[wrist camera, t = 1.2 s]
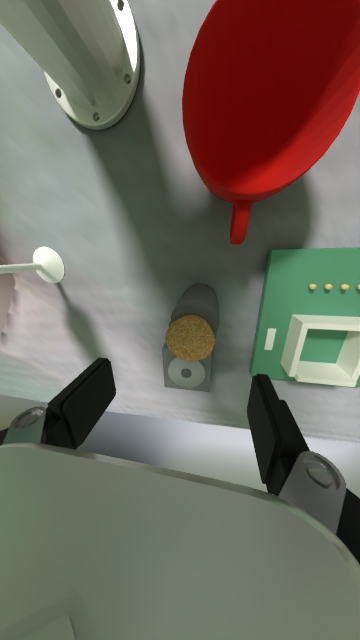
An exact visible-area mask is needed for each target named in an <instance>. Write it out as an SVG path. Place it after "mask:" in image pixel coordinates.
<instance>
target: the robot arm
mask: <svg viewBox="0 0 360 640" xmlns="http://www.w3.org/2000/svg"><path fill="white" fill-rule="evenodd" d="M0 23H1V24H2V25H3V26H4V27H5V29H6V30H7V31H8V32H9V33H10V34H11V35H12V36H13V37H14V38H15V39H16V41H17V42H18V43H19V44H20V45H21V46H22V47H23V48H24V49H25V50H26V51H27V52H28V54H29V55H30V56H31V57H32V58H33V59H34V60H35V61H36V62H37V63H38V64H39V65H40V67H41V68H42V69H43V70H44V73H45V76H46V80H47V82H48V85H49V87H50V90H51V92H52V94H53V95H54V97H55V99H56V101H57V102H58V104H59V105H60V106H61V108H62V109H63V110H64V111H65V112H66V113H67V114H68V115H69V116H70V117H71V118H72V119H73V120H74V121H75V122H77V123H78V124H79V125H81V126H83V127H86V128H88V129H93V130H100V129H105V128H108V127H110V126H112V125H113V124H115V123H116V122H118V121H119V120H120V119H121V118H122V116H123V115H124V114H125V113H126V111H127V109H128V108H129V106H130V104H131V102H132V100H133V97H134V95H135V92H136V88H137V84H138V80H139V71H140V46H139V38H138V32H137V28H136V24H135V21H134V17H133V15H132V12H131V9H130V6H129V3H128V1H127V0H0ZM115 395H116V388H115V383H114V377H113V372H112V367H111V362H110V361H109V360H108V359H107V358H98V359H97V360H95V361H94V362H93V363H92V364H91V365H90V366H89V367H88V368H87V369H86V370H84V371H83V372H82V373H81V374H80V375H79V376H78V377H77V378H76V379H74V380H73V381H72V382H71V383H70V384H69V385H68V386H67V387H66V388H64V389H63V390H62V391H61V392H60V393H59V394H58V395H57V396H56V397H54V398H53V399H52V400H51V401H50V402H49V403H48V406H49V407H48V408H46V409H45V408H44V407H34V408H31V409H29V410H26V411H24V412H22V413H21V414H20V415H18V416H17V417H16V418H15V419H14V420H13V421H12V423H11V424H10V427H9V428H7V429H4V430H2V431H0V640H360V499H359V498H358V497H357V496H356V495H355V494H353V493H352V492H351V491H349V490H348V489H347V488H346V483H345V480H344V477H343V476H342V474H341V473H340V471H339V470H338V469H337V468H336V466H335V465H333V463H332V462H330V461H329V460H328V459H327V458H325V457H323V456H322V455H320V454H318V453H315V452H311V451H310V450H309V448H308V446H307V444H306V442H305V440H304V438H303V436H302V434H301V432H300V430H299V428H298V426H297V424H296V421H295V419H294V417H293V415H292V413H291V411H290V409H289V407H288V405H287V403H286V402H285V401H284V400H279V398H278V396H277V394H276V391H275V389H274V387H273V385H272V383H271V380H270V378H269V376H268V375H267V374H258V373H257V374H256V376H253V379H252V384H251V390H250V396H249V402H248V407H247V415H248V420H249V425H250V430H251V434H252V439H253V443H254V448H255V452H256V458H257V462H258V467H259V471H260V476H261V480H262V483H263V484H266V486H267V490H268V493H267V492H264V491H260V490H257V489H253V488H250V487H247V486H243V485H238V484H234V483H230V482H226V481H221V480H217V479H213V478H208V477H204V476H199V475H194V474H190V473H185V472H180V471H175V470H171V469H166V468H162V467H157V466H152V465H147V464H143V463H138V462H133V461H128V460H123V459H119V458H113V457H109V456H104V455H99V454H94V453H89V452H84V451H79V450H76V449H77V447H78V446H80V445H81V444H82V443H83V442H84V440H85V439H86V438H87V436H88V435H89V433H90V432H91V430H92V429H93V427H94V426H95V424H96V423H97V421H98V420H99V419H100V417H101V416H102V414H103V413H104V411H105V410H106V409H107V407H108V406H109V404H110V403H111V401H112V400H113V398H114V397H115ZM272 494H274V495H272Z"/></svg>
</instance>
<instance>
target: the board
mask: <svg viewBox="0 0 360 640" xmlns="http://www.w3.org/2000/svg"><path fill="white" fill-rule="evenodd" d="M257 373H258V374H267V375H268V376H269V378H272V379H282V380H293V381H298V382H308V383H318V384H328V385H338V386H349V387H360V248H323V249H277V250H269V253H268V259H267V266H266V272H265V278H264V284H263V290H262V297H261V303H260V309H259V315H258V322H257V328H256V334H255V340H254V347H253V353H252V359H251V365H250V374H251V376H252V377H253V376H256V374H257Z"/></svg>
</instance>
